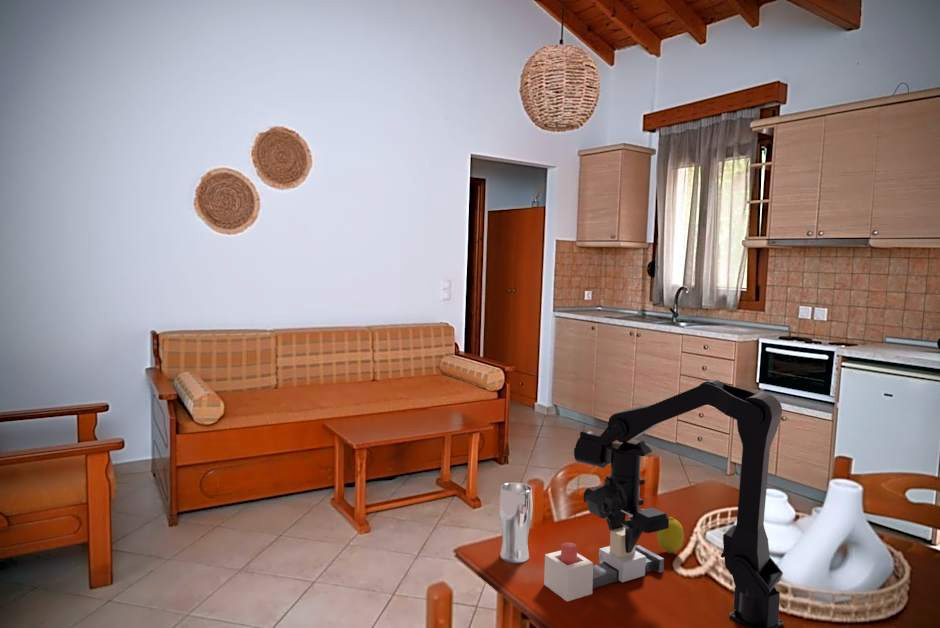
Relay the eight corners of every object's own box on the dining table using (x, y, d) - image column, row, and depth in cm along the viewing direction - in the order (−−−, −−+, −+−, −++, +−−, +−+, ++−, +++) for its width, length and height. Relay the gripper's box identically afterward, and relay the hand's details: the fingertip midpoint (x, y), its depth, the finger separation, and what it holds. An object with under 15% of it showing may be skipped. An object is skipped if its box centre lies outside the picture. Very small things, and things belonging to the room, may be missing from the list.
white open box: (592, 593, 116) (593, 562, 116) (567, 601, 114) (568, 569, 113) (568, 577, 123) (569, 548, 122) (544, 584, 120) (545, 554, 119)
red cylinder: (579, 573, 117) (580, 547, 117) (567, 576, 116) (568, 550, 115) (569, 566, 120) (570, 541, 120) (557, 569, 118) (558, 544, 118)
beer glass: (492, 559, 130) (494, 489, 129) (506, 546, 136) (508, 479, 135) (523, 567, 126) (525, 495, 125) (536, 554, 133) (538, 485, 132)
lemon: (684, 560, 131) (686, 523, 131) (657, 557, 132) (659, 520, 132) (681, 549, 136) (682, 513, 136) (655, 546, 138) (656, 511, 137)
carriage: (645, 576, 123) (647, 534, 123) (622, 582, 120) (624, 540, 120) (620, 561, 129) (622, 522, 129) (598, 567, 126) (600, 527, 126)
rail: (663, 571, 126) (663, 558, 126) (598, 592, 117) (598, 577, 117) (638, 557, 132) (638, 545, 132) (574, 575, 123) (575, 562, 123)
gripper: (564, 465, 128) (561, 539, 129) (628, 494, 111) (625, 578, 112) (605, 458, 133) (603, 529, 134) (672, 485, 117) (669, 565, 118)
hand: (622, 549), depth 124 cm, fingers closed on carriage, 3 cm apart
